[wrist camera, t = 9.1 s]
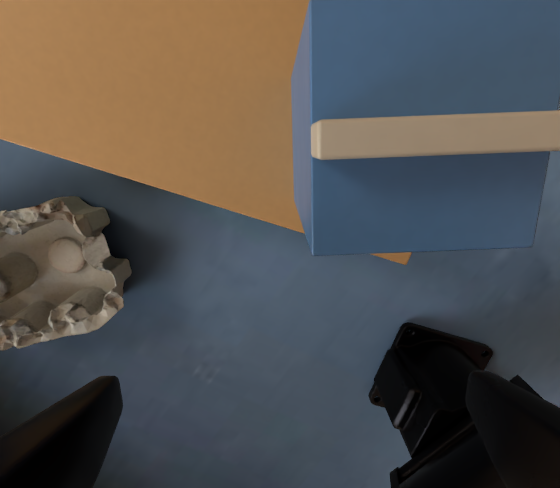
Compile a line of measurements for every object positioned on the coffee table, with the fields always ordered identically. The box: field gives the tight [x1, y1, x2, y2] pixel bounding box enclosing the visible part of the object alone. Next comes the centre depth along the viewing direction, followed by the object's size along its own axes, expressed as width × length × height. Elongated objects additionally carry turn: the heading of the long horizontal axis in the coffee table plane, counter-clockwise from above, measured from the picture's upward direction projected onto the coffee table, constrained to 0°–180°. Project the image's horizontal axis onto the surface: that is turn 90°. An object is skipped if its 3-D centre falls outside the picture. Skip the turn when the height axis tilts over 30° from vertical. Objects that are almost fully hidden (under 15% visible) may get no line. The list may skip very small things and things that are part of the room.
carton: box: [291, 0, 560, 256], centre depth 10 cm, size 5×5×9 cm
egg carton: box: [0, 196, 132, 350], centre depth 19 cm, size 11×8×4 cm
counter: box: [0, 0, 412, 265], centre depth 16 cm, size 20×10×4 cm, turn 72°
